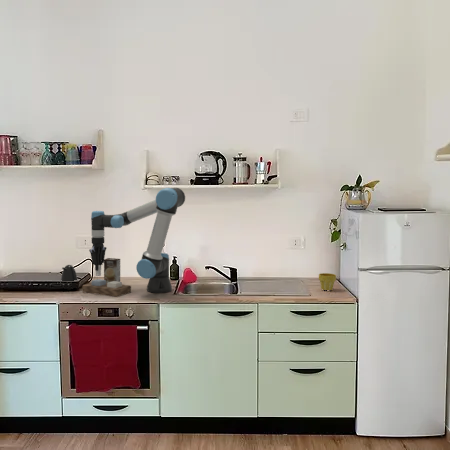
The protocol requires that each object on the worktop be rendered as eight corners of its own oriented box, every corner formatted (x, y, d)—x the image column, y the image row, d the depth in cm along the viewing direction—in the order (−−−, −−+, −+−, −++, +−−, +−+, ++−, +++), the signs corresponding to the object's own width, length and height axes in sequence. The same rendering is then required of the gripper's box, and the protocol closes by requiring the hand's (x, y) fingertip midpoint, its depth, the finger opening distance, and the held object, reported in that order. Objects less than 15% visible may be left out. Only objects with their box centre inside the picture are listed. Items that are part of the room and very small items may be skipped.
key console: (130, 292, 308) (130, 285, 307) (117, 296, 296) (116, 290, 296) (97, 287, 320) (97, 281, 319) (82, 291, 308) (82, 285, 308)
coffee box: (103, 284, 330) (103, 259, 329) (108, 282, 337) (107, 257, 335) (116, 284, 328) (116, 260, 327) (121, 282, 334) (120, 258, 333)
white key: (121, 287, 306) (121, 282, 306) (115, 289, 301) (115, 283, 301) (113, 286, 309) (113, 281, 309) (107, 288, 304) (107, 282, 303)
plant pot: (330, 287, 324) (330, 272, 323) (338, 291, 314) (339, 275, 313) (315, 288, 320) (315, 273, 319) (323, 292, 311) (323, 276, 310)
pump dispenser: (56, 290, 313) (56, 265, 311) (69, 286, 322) (68, 262, 320) (69, 291, 308) (68, 266, 306) (81, 288, 317) (81, 264, 316)
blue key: (106, 285, 312) (105, 280, 311) (99, 287, 306) (99, 281, 306) (98, 284, 314) (98, 279, 314) (91, 286, 309) (91, 280, 309)
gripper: (100, 235, 315) (100, 273, 317) (85, 237, 303) (85, 276, 306) (110, 236, 311) (110, 274, 314) (95, 238, 300) (95, 278, 302)
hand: (98, 275), depth 310 cm, fingers closed
